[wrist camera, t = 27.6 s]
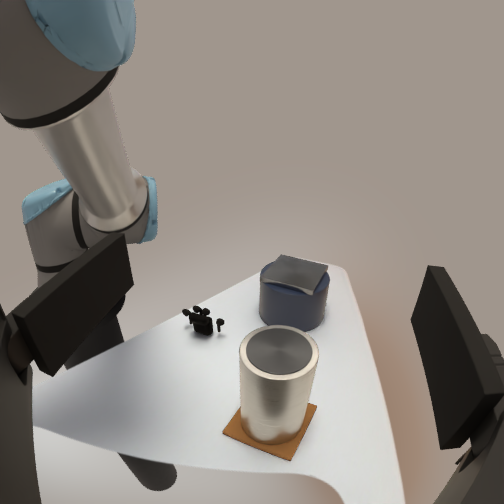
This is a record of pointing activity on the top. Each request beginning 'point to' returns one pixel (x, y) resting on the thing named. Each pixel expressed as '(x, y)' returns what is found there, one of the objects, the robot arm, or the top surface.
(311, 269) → the navy cylinder with lid
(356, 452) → the top surface
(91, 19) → the robot arm
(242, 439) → the mat
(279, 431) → the cup
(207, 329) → the wireless earbuds
